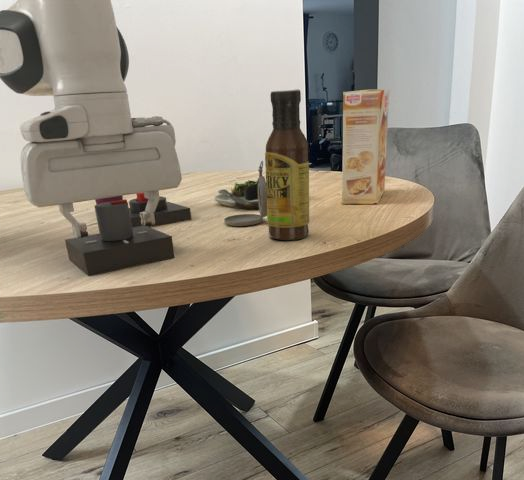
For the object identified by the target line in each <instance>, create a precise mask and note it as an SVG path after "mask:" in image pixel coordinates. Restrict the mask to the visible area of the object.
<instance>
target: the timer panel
mask: <svg viewBox="0 0 524 480" xmlns="http://www.w3.org/2000/svg"><path fill="white" fill-rule="evenodd" d="M132 230H133V237H131V238H129V239H125V240H120V241H103V240H101V237H100V232H98V233H94V234H88V237H83V238H76V237H71V238H66V239H64V244H65V247H66V252H67V256H68V259H69V261H70V262H71V263H72V264H74V265H75V266H76V268H78V269H79V270H81V271H82V272H83V273H84V274H85V275H86V276H88V277H90V276H94V275H100V274H104V273H108V272H114V271H118V270H122V269H123V270H124V269H127V268H132V267H136V266H142V265H147V264H150V263H151V264H152V263H155V262H160V261H165V260H170V259H174V258H175V250H174V242H173V236H172V235H170V234H168V233H165V232H163V231H160V230H158V229H155V228H154V227H148V226H139V227H133V228H132Z"/></svg>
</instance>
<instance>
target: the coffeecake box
mask: <svg viewBox="0 0 524 480" xmlns="http://www.w3.org/2000/svg"><path fill="white" fill-rule="evenodd" d="M342 95H343V101H342V102H343V104H342V106H343V107H342V167H341V169H342V171H341V172H342V174H341V175H342V176H341V177H342V178H341V179H342V180H341V182H342V185H341V187H342V188H341V189H342V190H341V204H342V205H375V204H374V203H377V204H378V203H379V202H380V200H381V198H382V197H383V195H384V193H385V191H386V190H385V188H386V167H387V146H388V145H387V144H388V143H387V142H388V125H389V124H388V121H389V105H390V103H389V102H390V89H381V88H379V89H378V88H375V89H372V88H371V89H363V90H362V89H360V90H352V91H351V90H350V91H343V92H342ZM381 196H382V197H381Z"/></svg>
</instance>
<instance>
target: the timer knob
mask: <svg viewBox="0 0 524 480" xmlns="http://www.w3.org/2000/svg"><path fill="white" fill-rule="evenodd" d="M93 207H94V211H95V216H96V223H97V227H98V231H99V232H98V233H100V237H101V240H103V241H120V240H125V239H129V238H131V237H133V230H132V224H131V218H130V212H129V208H130V205H129V201H128V199H126V198H125V199H123V200H118V201H111V202H105V203H100V204H97V205H96V204H94V205H93Z"/></svg>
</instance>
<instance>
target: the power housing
mask: <svg viewBox="0 0 524 480" xmlns="http://www.w3.org/2000/svg"><path fill="white" fill-rule="evenodd" d="M159 198H160V199H159V202H158V204H157V207H156V210H155V212H154V218H155V225H151V226H148V227H151V228H154V227H159V226H165V225H170V224H175V223H176V224H177V223H180V222H181V223H182V222H188V221H192V212H191V208H190V207H188V206H184V205H181V204H178V203H174V202H171V201H167V197H166V196H160V195H159ZM147 202H148V201H144V202H138V200H137V197H136V198H132V199H130V200H129V201H128V206H129V212H130V218H131V224H132V228H133V227H139V226H143V225H142V224H141V217H140V213H139V212H145V209H146V206H147Z"/></svg>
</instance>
